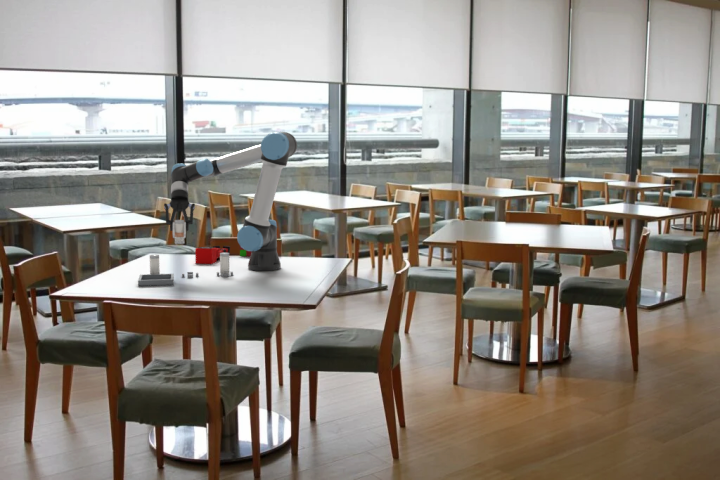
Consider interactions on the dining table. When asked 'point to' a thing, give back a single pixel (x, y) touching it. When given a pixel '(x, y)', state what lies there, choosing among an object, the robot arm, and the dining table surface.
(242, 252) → the toy
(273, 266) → the robot arm
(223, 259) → the plain fuse
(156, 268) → the plain fuse
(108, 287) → the dining table surface
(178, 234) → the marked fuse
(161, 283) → the charcoal tray
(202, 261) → the toy
